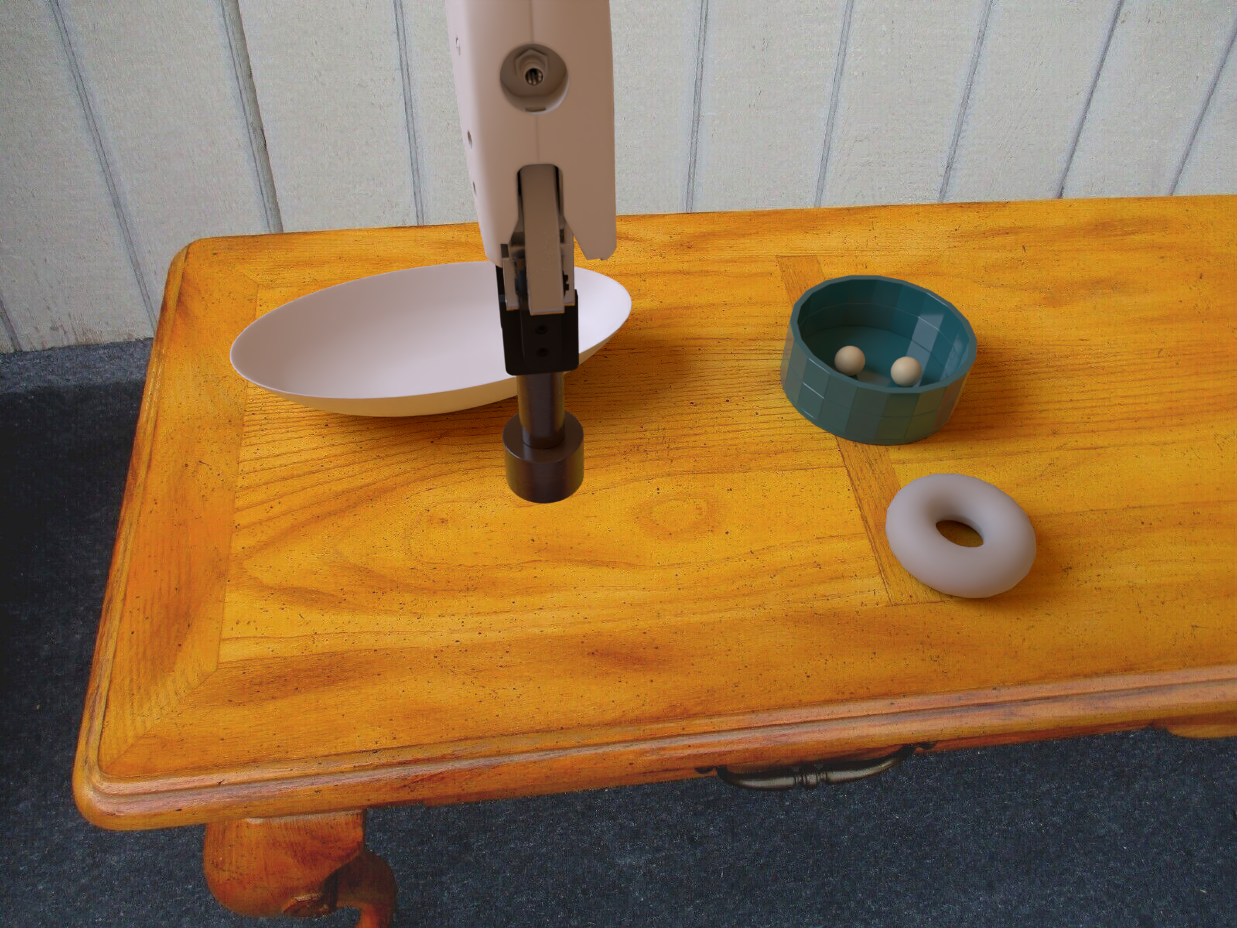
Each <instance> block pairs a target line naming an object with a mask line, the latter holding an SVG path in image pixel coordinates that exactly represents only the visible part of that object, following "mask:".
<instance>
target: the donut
mask: <svg viewBox="0 0 1237 928" xmlns="http://www.w3.org/2000/svg"><path fill="white" fill-rule="evenodd" d="M942 521H954V522H959V523H962V524H964V525H966V526H969V527H970V528H972V530H974V531H976V533H977V534H978V535H979V537H980V538H981V539H982V544H981V545H979V546H964V545H959V544H956V543H955V542H953V541H950V540H949V539H948V538H946V537H945V536H943V535H942V533H941V532H940V531H939V529H938V528H937V526H936V525H937V524H938V523H939V522H942ZM884 532H885V535H886V538H887V542H888V545H889V548H890V551H891V553H892V555H893V556H894V557H895V558H896V560H897V561H898V562H899V564H900V565H901V567H902V568H903V569H904V570H905V571H906V572H907V573H908V574H910V576H912V577H913V578H915V579H916V580H917V581H919V582H920V583H921V584H923V585H925V586H926V587H929V588H931V589H933V590H935V591H937V592H940V593H942V594H944V595H945V594H946V595H950V596H955V597H959V598H963V599H977V598H978V599H980V598H982V599H983V598H990V597H994V596H996V595H998V594H1002V593H1005V592H1008V591H1010V590H1012V589H1013V588H1014V587H1015V586H1016V585H1018V584H1019V583H1020V582H1021V581H1023V579H1025V578H1026V577H1027V576H1028V575H1029V573H1030V570H1031V568H1032V566H1033V564H1034V561H1035V559H1036V555H1037V536H1036V532H1035V529H1034V527H1033V524H1032V522H1031V520H1030V518H1029V516H1028V513H1027V512H1026V511H1025V510H1024V509H1023V508H1022V507H1021V505H1019V503H1018V502H1017V501H1016V500H1015V499H1014V497H1012V496H1010V495H1009V494H1008V493H1007V492H1005V491H1004V490H1002V489H1000V488H999V487H998V486H997V485H994V484H992V483H990V482H988V481H985V480H983V479H981V478H979V477H975V476H970V475H964V474H961V473H955V472H947V473H932V474H928V475H924V476H921V477H918V478H915V479H913V480H912V481H910V482H909V483H907V484H906V485H904V486H903V487H902V488H901V489H899V490H898V491H896V494H895V496H894V497H893V499H892V500H891V502H890V504H889V506H888V507H887V509H886V517H885V528H884Z"/></svg>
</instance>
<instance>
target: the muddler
mask: <svg viewBox="0 0 1237 928" xmlns="http://www.w3.org/2000/svg"><path fill="white" fill-rule="evenodd" d="M516 262H517V277H518V274H519V270H526V258H522V259H516ZM516 383H517V395H516V397H517V408H518V412H516V413H514V415H512V416H511V417H510V418H509V419H508V420H507V422H506V423H505V425H504V427H503V429H502V434H501V439H502V451H503V459H504V460H503V461H504V471H505V480H506V483H507V486H508V487H509V489H510V490H511V492H512V493H514V495H515V496H517V497H518V498H519V499H522V500H523V501H526V502H529V503H533V504H540V505H541V504H543V505H548V504H553V503H559V502H561V501H565V500H566V499H569V498H570V497H571V496H573V495H575V493H576V492H577V491H578V490H579V488H581V486H582V484H583V482H584V478H585V435H584V434H585V433H584V428H583V425H582V423H581V421H580V420H579V419H578V417H576V416H575V415H574V414H573V413H571V412H570V411H568V410H566V409H565V408H566V407H565V402H566V401H565V374H564V372H555V373H543V374H531V375H520V376H516Z"/></svg>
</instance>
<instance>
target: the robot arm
mask: <svg viewBox="0 0 1237 928" xmlns="http://www.w3.org/2000/svg"><path fill="white" fill-rule="evenodd" d="M443 1H444V10H445V19H446V26H447V27H446V29H447V37H448V44H449V50H450V51H449V53H450V61H451V68H452V74H453V82H454V89H455V98H456V103H457V104H456V105H457V111H458V112H457V113H458V118H459V124H460V131H461V137H462V144H463V148H464V154H465V160H466V166H467V172H468V177H469V182H470V186H471V187H470V188H471V192H472V196H473V197H472V198H473V201H474V202H473V203H474V206H475V211H476V217H477V222H478V227H479V232H480V237H481V240H482V245H483V246H482V247H483V250H484V254H485V258H487V259H488V261H491V262H492V263H494V264H495V267H496V278H497V289H498V301H499V312H500V323H501V328H502V336H503V348H504V359H505V369H506V372H507V373H508V374H509V375H512V376H520V375H531V374H543V373H555V372H567V371H569V372H572V371H575V370H577V369H578V368H579V366H580V365H579V319H578V293H577V289H575V281H574V267H575V241H576V243H577V245H578V246H579V249H580V250H581V253H582V254H583V256H584V258H585V259H586V261H591V260H599V259H600V261H602V262H604V261H608V260H609V259H610V258H611V257H612V256H613V255H614V253H615V251H616V249H617V247H618V244H617V243H618V239H617V238H618V237H617V236H618V235H617V201H616V200H617V199H616V198H617V195H616V194H617V193H616V147H615V146H616V138H615V137H616V136H615V135H616V132H615V131H616V129H615V126H616V125H615V86H614V85H615V83H614V82H615V81H614V53H613V36H612V21H611V6H610V5H611V3H610V0H443ZM574 240H575V241H574ZM522 258H526V270H519V274H518V277H517V262H516V259H522Z"/></svg>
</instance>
